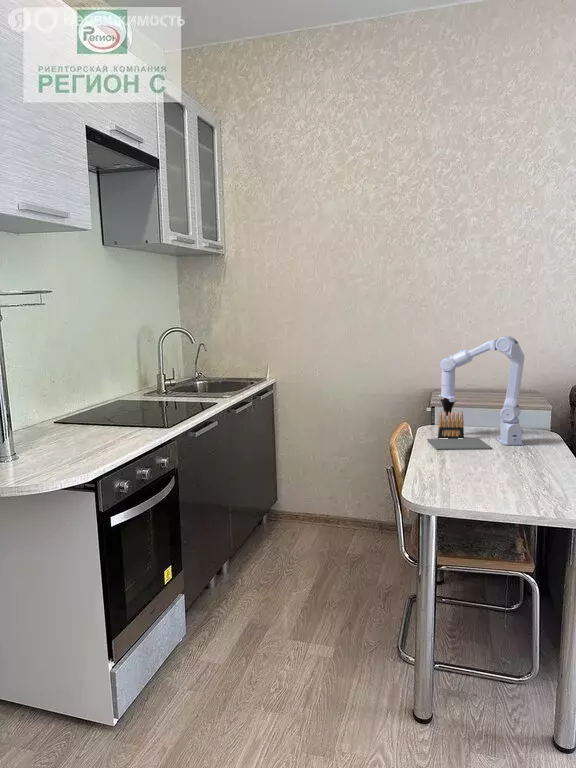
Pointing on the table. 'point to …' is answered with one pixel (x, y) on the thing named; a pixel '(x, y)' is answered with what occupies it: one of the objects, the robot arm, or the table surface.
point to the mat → (458, 444)
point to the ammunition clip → (451, 426)
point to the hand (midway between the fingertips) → (447, 415)
